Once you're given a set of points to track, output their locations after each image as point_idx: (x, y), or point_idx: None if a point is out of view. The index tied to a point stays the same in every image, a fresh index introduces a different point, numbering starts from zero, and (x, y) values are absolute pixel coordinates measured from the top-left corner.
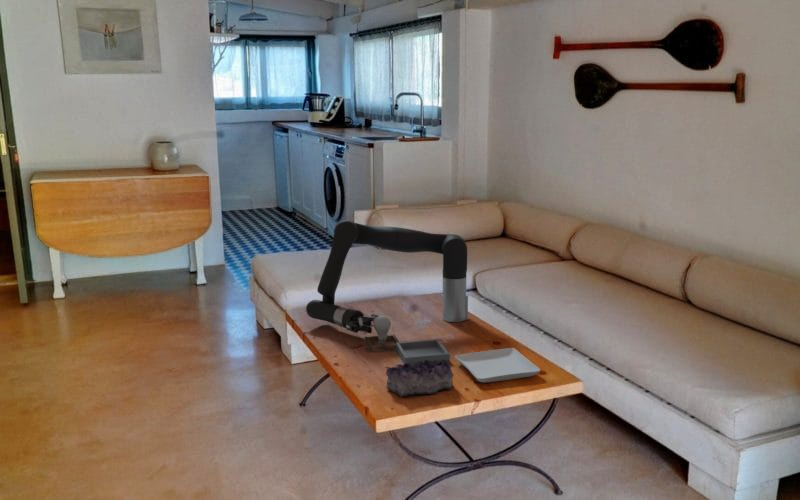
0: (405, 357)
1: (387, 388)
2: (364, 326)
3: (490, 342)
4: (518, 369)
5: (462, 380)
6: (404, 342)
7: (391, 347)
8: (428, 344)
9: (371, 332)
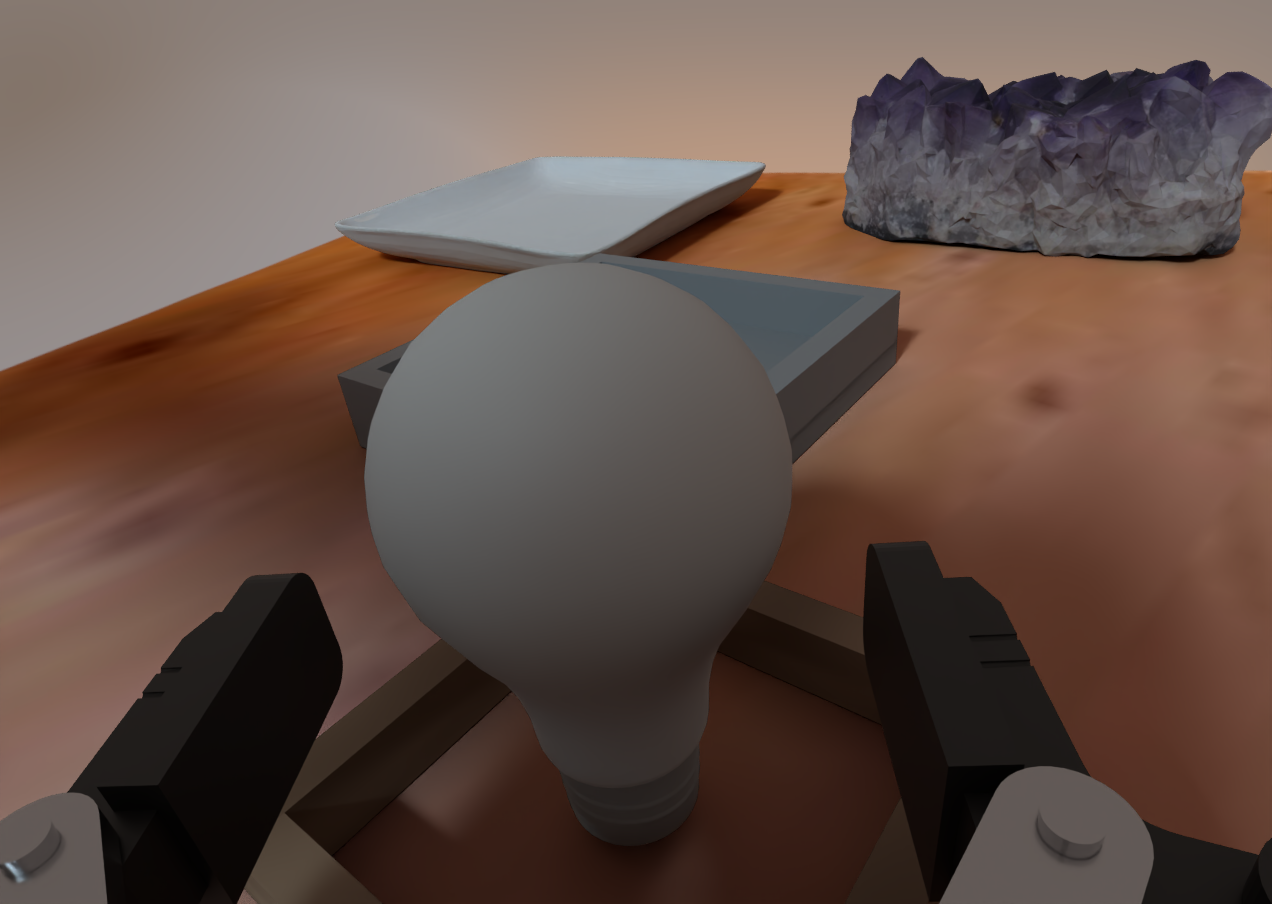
0: (891, 292)
1: (1231, 241)
2: (993, 714)
3: (136, 362)
4: (521, 206)
5: (765, 228)
6: None
7: None
8: None
9: (869, 644)
